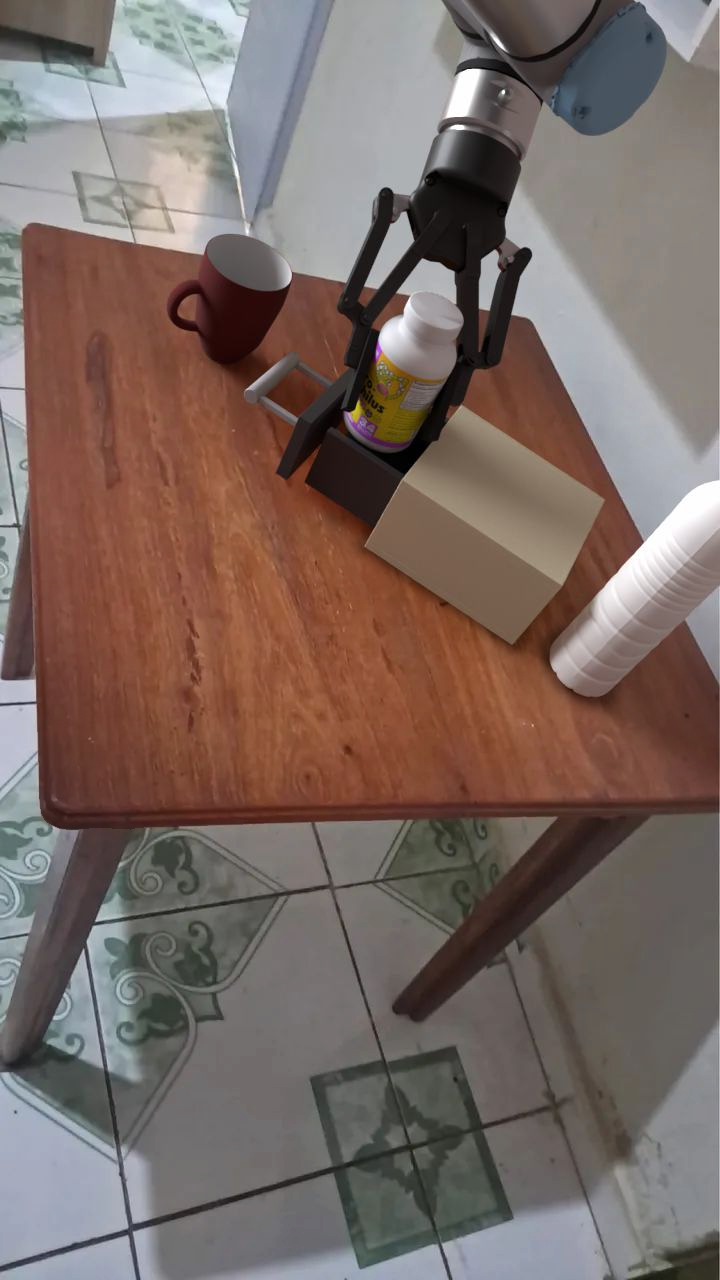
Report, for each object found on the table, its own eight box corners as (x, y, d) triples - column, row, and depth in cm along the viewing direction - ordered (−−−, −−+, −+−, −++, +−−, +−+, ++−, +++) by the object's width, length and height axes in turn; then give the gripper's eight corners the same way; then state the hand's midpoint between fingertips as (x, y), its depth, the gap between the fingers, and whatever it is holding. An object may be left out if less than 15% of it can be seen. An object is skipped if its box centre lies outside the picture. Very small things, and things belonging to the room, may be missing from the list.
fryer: (363, 546, 84) (402, 479, 77) (423, 470, 93) (461, 404, 86) (512, 645, 83) (562, 586, 77) (557, 559, 92) (605, 499, 86)
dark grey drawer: (219, 436, 84) (239, 376, 79) (287, 376, 92) (309, 318, 87) (412, 564, 83) (445, 513, 78) (462, 492, 92) (495, 441, 87)
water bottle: (534, 645, 84) (713, 442, 66) (585, 631, 88) (769, 436, 69) (587, 728, 81) (791, 538, 62) (638, 710, 84) (846, 527, 66)
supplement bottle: (330, 401, 84) (385, 277, 74) (394, 403, 87) (455, 285, 77) (355, 457, 81) (416, 335, 71) (421, 457, 84) (488, 341, 74)
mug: (178, 385, 87) (203, 294, 80) (143, 326, 90) (164, 232, 83) (276, 376, 93) (308, 290, 85) (240, 321, 96) (268, 233, 88)
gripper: (376, 78, 71) (281, 378, 73) (605, 183, 75) (510, 462, 77) (357, 117, 78) (271, 388, 80) (567, 210, 83) (481, 465, 85)
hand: (389, 424), depth 79 cm, fingers closed on supplement bottle, 7 cm apart
